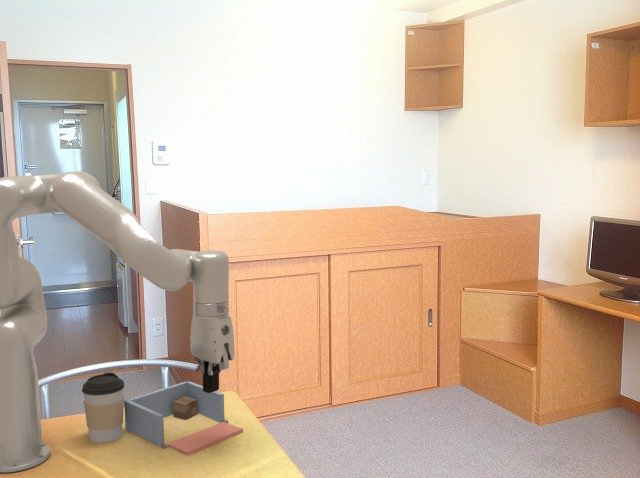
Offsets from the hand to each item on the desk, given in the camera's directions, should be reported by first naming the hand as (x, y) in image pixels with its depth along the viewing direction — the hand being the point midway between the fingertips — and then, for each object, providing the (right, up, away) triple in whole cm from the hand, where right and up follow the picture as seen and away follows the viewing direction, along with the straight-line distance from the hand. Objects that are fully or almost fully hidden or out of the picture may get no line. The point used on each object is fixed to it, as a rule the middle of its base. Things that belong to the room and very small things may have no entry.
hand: (211, 390), depth 139 cm
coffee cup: (-25, -13, +5) cm, 28 cm away
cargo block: (-9, -11, +17) cm, 22 cm away
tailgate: (-4, -11, +6) cm, 13 cm away
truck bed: (-10, -12, +11) cm, 19 cm away
